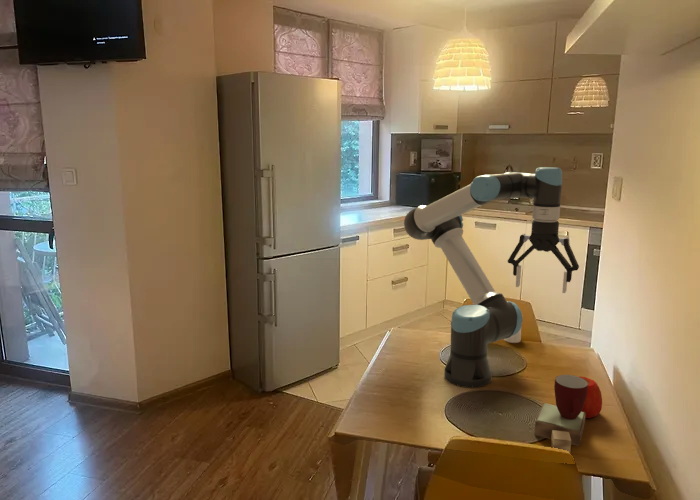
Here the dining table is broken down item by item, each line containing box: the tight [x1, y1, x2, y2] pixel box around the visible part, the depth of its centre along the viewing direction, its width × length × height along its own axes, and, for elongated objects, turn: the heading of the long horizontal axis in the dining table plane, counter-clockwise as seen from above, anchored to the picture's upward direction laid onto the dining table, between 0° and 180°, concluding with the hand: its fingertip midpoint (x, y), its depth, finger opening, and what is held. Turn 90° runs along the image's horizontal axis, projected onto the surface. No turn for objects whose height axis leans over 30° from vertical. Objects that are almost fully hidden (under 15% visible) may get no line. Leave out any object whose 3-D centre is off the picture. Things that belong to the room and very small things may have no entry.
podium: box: [534, 402, 586, 447], centre depth 142 cm, size 11×11×4 cm
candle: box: [503, 302, 522, 344], centre depth 204 cm, size 6×6×15 cm
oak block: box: [550, 430, 572, 453], centre depth 134 cm, size 4×4×4 cm
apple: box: [579, 376, 603, 419], centre depth 151 cm, size 11×11×11 cm
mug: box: [553, 374, 588, 420], centre depth 139 cm, size 10×8×10 cm
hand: (540, 289), depth 162 cm, fingers open, 13 cm apart
